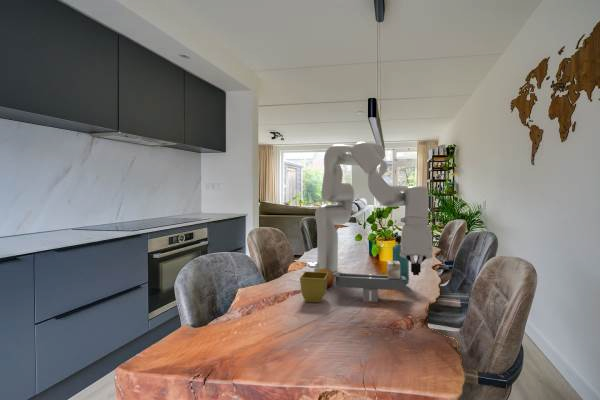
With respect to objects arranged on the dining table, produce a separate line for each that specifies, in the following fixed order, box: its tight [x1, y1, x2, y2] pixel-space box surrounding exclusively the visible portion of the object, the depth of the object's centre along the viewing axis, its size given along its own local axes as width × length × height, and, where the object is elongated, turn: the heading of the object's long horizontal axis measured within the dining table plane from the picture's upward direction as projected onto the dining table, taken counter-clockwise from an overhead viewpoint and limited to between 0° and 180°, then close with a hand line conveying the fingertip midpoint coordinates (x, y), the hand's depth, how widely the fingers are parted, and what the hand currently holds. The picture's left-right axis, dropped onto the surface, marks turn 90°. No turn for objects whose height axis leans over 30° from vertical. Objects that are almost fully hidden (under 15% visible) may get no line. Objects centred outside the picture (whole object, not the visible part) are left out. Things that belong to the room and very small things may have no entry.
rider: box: [386, 260, 400, 279], centre depth 121 cm, size 4×6×7 cm
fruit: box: [316, 269, 335, 288], centre depth 138 cm, size 8×8×8 cm
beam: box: [335, 272, 407, 303], centre depth 123 cm, size 24×9×8 cm, turn 79°
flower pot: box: [299, 271, 328, 304], centre depth 120 cm, size 9×9×9 cm
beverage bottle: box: [392, 235, 410, 286], centre depth 137 cm, size 6×7×20 cm
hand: (415, 274), depth 120 cm, fingers closed
